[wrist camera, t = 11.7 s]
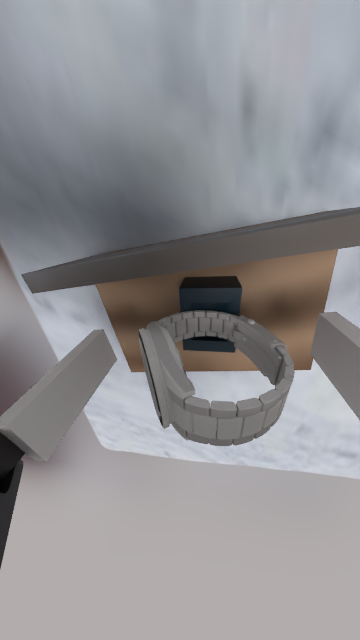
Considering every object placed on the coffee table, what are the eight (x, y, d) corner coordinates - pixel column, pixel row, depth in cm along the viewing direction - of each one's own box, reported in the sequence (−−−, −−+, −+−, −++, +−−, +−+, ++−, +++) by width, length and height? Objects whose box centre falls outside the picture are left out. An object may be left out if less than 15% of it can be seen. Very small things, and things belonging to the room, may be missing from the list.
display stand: (97, 254, 17) (21, 274, 10) (328, 210, 13) (466, 194, 6) (137, 361, 24) (106, 417, 17) (301, 356, 19) (352, 431, 12)
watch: (162, 277, 15) (82, 364, 6) (259, 275, 14) (362, 384, 4) (168, 331, 18) (120, 451, 8) (250, 333, 17) (302, 480, 7)
